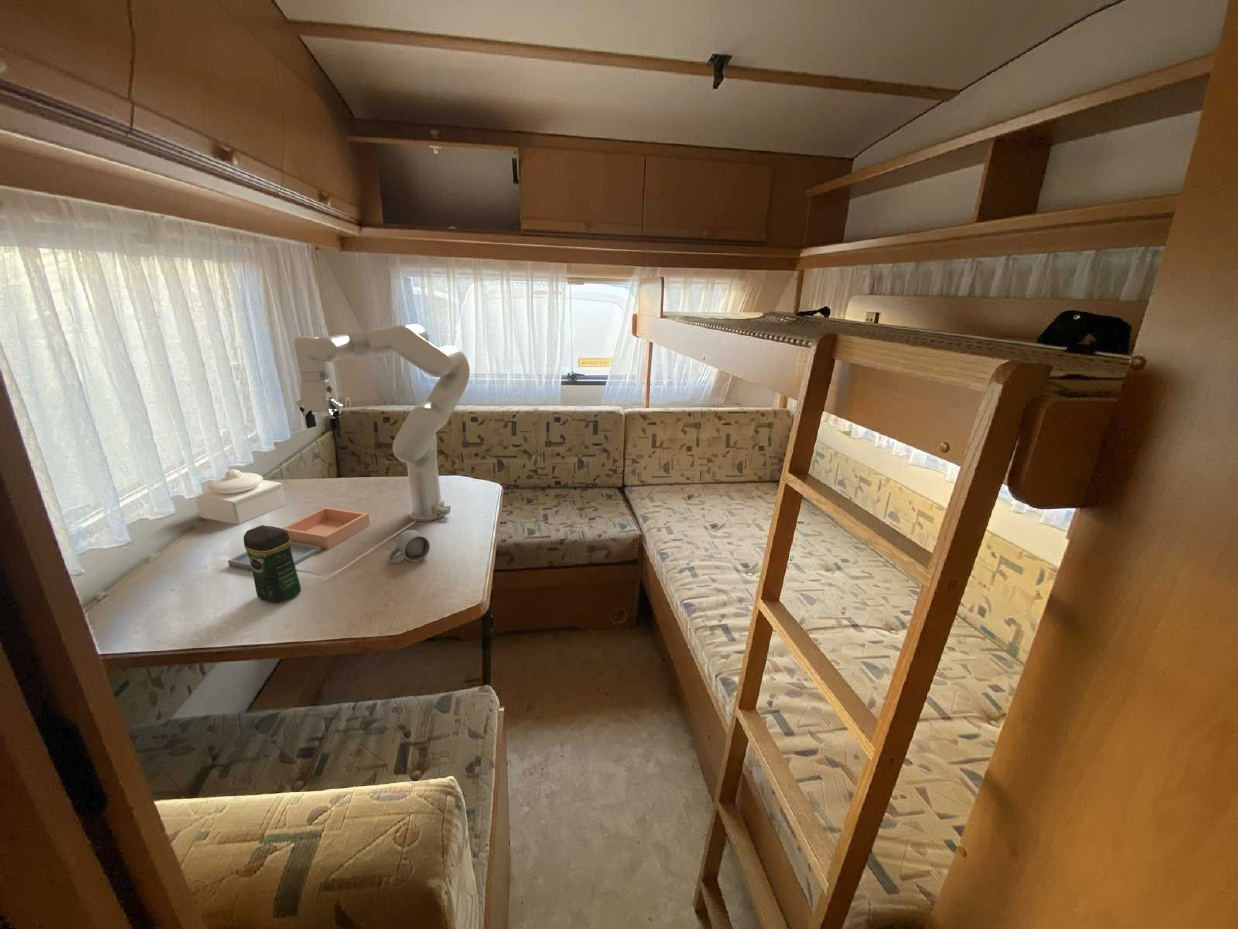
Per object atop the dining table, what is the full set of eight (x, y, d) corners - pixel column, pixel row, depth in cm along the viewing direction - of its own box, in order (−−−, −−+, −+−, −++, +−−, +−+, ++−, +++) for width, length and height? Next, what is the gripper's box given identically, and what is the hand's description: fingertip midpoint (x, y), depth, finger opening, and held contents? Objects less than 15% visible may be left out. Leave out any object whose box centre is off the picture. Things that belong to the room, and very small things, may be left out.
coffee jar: (307, 591, 130) (293, 526, 124) (277, 608, 123) (261, 540, 117) (282, 582, 133) (267, 519, 127) (251, 598, 126) (234, 532, 120)
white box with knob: (250, 499, 185) (240, 458, 180) (287, 505, 180) (278, 463, 175) (200, 518, 169) (187, 474, 164) (239, 526, 164) (228, 481, 159)
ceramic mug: (421, 546, 153) (417, 523, 151) (432, 556, 148) (428, 533, 145) (385, 558, 147) (380, 534, 144) (395, 569, 141) (390, 545, 138)
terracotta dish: (370, 527, 164) (368, 513, 163) (329, 551, 149) (326, 536, 147) (327, 520, 169) (325, 507, 167) (283, 543, 153) (280, 529, 152)
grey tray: (322, 552, 148) (321, 546, 148) (280, 577, 136) (279, 570, 135) (274, 544, 153) (272, 538, 152) (229, 567, 140) (227, 560, 139)
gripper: (345, 376, 161) (354, 427, 166) (302, 373, 165) (311, 423, 171) (327, 379, 154) (336, 433, 159) (282, 376, 158) (292, 429, 164)
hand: (323, 428), depth 165 cm, fingers open, 9 cm apart
